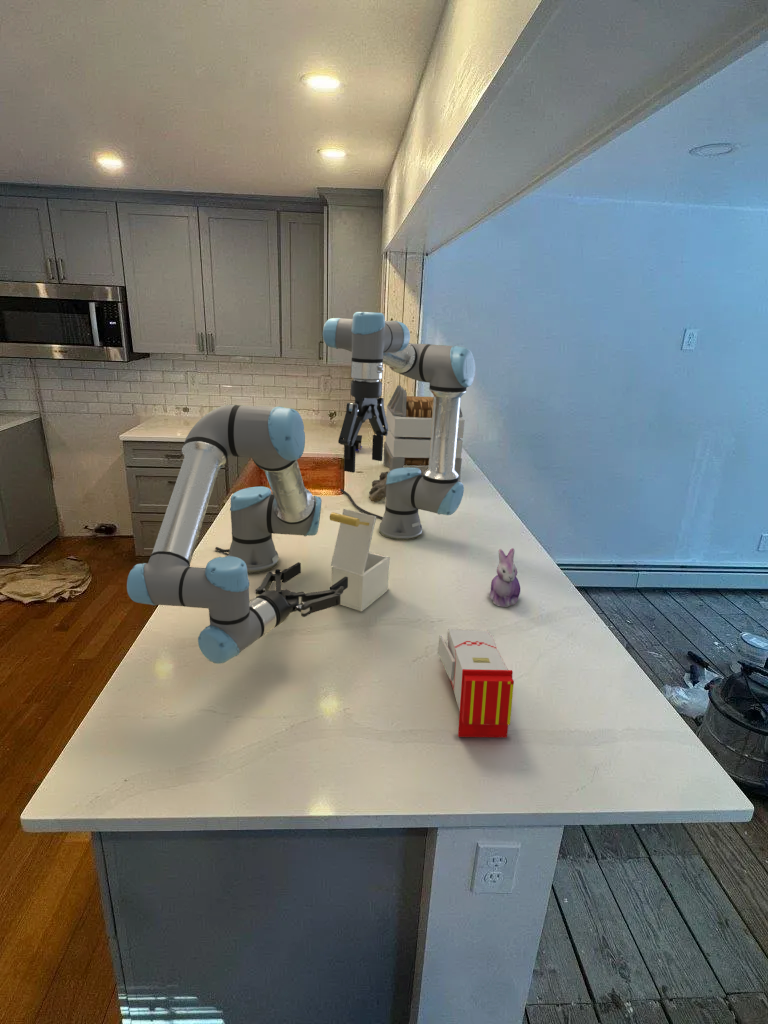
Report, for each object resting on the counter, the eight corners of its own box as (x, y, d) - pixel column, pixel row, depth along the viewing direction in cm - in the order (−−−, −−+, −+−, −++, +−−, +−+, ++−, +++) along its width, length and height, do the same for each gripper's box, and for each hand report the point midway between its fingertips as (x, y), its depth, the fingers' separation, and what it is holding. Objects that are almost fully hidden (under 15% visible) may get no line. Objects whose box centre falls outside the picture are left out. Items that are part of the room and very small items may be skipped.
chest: (359, 581, 164) (360, 549, 161) (388, 590, 160) (389, 557, 156) (331, 601, 152) (331, 567, 149) (361, 611, 148) (362, 576, 144)
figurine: (502, 611, 151) (509, 560, 146) (479, 594, 159) (485, 545, 154) (530, 604, 155) (537, 554, 150) (506, 588, 163) (512, 540, 158)
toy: (488, 613, 130) (523, 677, 101) (484, 667, 133) (517, 744, 104) (435, 612, 130) (455, 676, 101) (432, 666, 133) (451, 743, 103)
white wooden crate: (382, 463, 289) (386, 382, 275) (445, 464, 293) (451, 384, 279) (390, 482, 257) (394, 392, 243) (460, 483, 261) (468, 394, 247)
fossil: (368, 477, 249) (395, 458, 244) (381, 493, 252) (408, 475, 247) (361, 498, 229) (391, 478, 224) (375, 515, 232) (405, 496, 227)
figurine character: (361, 456, 307) (362, 446, 320) (362, 442, 303) (362, 433, 317) (349, 455, 306) (350, 446, 320) (349, 442, 303) (350, 433, 316)
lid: (344, 508, 149) (328, 506, 141) (376, 516, 144) (361, 513, 137) (332, 565, 149) (315, 565, 141) (363, 574, 145) (347, 575, 137)
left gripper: (220, 612, 125) (281, 575, 143) (313, 647, 114) (366, 602, 132) (218, 581, 122) (280, 548, 140) (313, 614, 111) (367, 573, 129)
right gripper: (352, 386, 124) (350, 479, 131) (404, 377, 145) (399, 458, 152) (323, 383, 127) (323, 474, 134) (378, 374, 148) (375, 453, 155)
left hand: (322, 574), depth 136 cm, fingers open, 13 cm apart
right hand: (363, 465), depth 143 cm, fingers open, 13 cm apart
